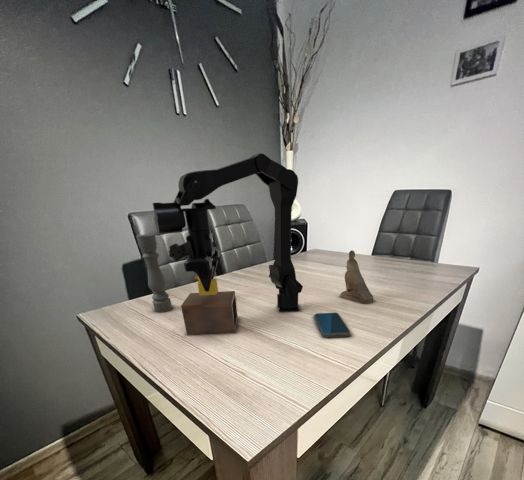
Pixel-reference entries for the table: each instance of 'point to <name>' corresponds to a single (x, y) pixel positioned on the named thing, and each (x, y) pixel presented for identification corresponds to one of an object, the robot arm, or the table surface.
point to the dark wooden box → (210, 313)
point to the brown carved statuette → (355, 283)
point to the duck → (212, 290)
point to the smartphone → (331, 325)
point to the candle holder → (154, 273)
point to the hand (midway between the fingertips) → (208, 289)
